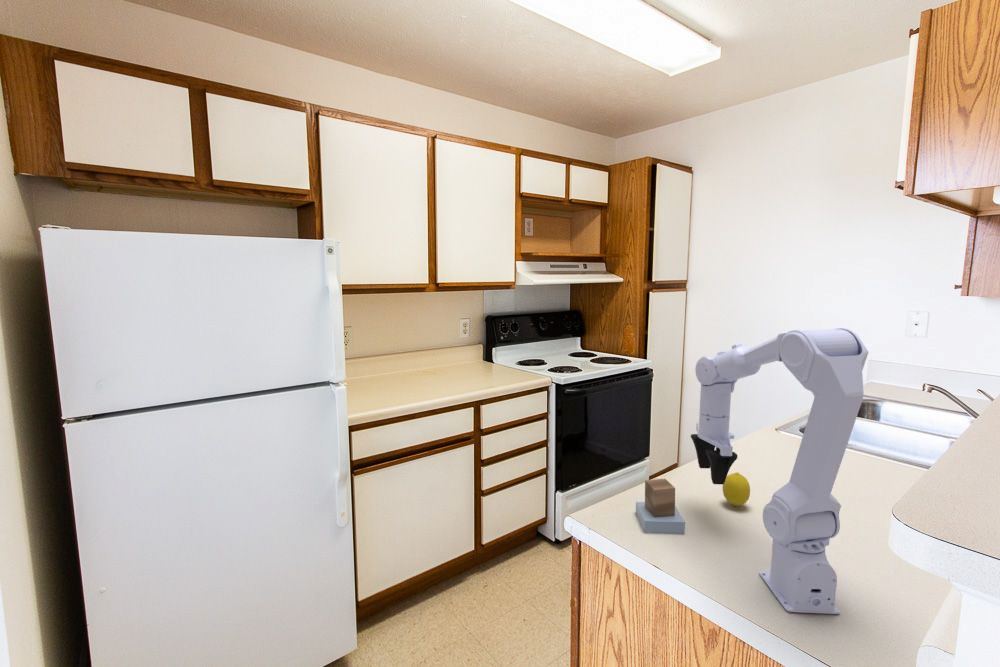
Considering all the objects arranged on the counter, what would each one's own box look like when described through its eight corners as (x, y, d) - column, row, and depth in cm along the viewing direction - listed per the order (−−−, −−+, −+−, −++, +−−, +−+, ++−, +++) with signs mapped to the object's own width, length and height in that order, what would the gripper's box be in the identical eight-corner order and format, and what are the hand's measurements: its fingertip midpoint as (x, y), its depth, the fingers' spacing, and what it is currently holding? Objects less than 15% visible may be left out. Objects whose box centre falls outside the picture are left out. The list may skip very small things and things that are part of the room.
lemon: (752, 513, 101) (754, 479, 100) (725, 511, 103) (727, 477, 101) (744, 501, 107) (746, 468, 106) (718, 499, 108) (720, 466, 107)
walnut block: (674, 515, 96) (675, 488, 95) (654, 517, 95) (654, 489, 95) (664, 504, 100) (665, 478, 100) (644, 506, 100) (645, 480, 99)
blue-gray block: (684, 536, 94) (685, 522, 94) (644, 534, 95) (644, 521, 94) (672, 515, 102) (673, 502, 101) (635, 514, 102) (636, 501, 102)
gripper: (750, 425, 89) (745, 492, 91) (720, 403, 103) (717, 461, 105) (712, 424, 89) (708, 491, 91) (688, 403, 104) (685, 461, 105)
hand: (711, 475), depth 98 cm, fingers open, 7 cm apart
